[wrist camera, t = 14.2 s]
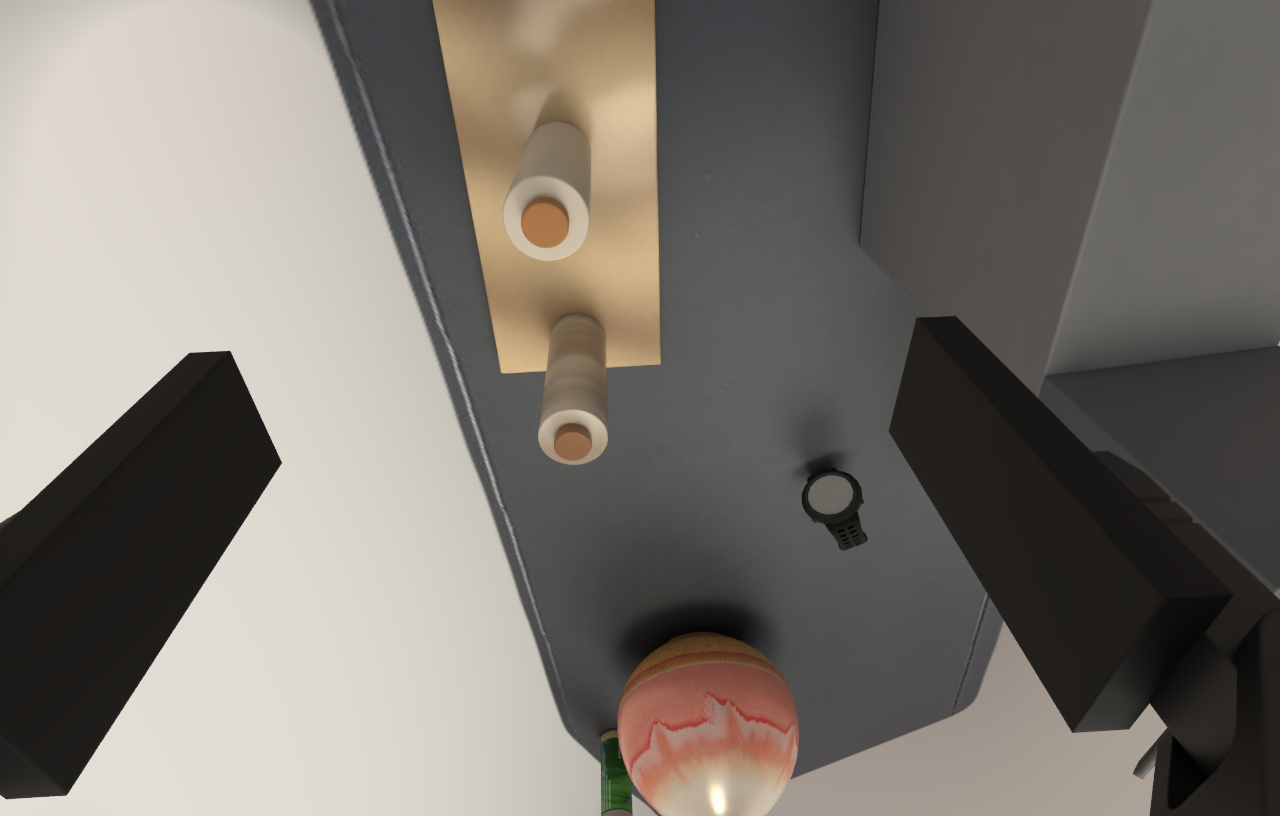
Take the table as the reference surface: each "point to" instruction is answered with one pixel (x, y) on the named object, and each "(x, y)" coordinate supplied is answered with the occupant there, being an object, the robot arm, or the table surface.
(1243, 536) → the grey stand
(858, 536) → the smartwatch
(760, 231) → the table surface
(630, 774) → the vase
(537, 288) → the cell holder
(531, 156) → the white cell
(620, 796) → the battery
